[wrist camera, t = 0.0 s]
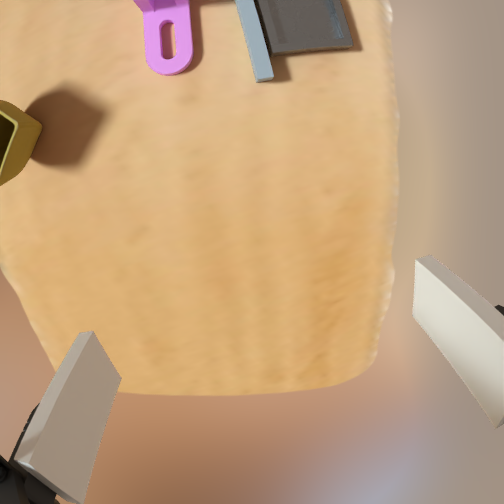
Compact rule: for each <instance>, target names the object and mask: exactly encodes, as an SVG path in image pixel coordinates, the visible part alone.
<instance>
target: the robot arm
mask: <svg viewBox="0 0 504 504" xmlns="http://www.w3.org/2000/svg"><path fill="white" fill-rule="evenodd" d="M415 262H416V263H415V287H414V303H413V317H414V318H415V320H416V321H417V322H418V323H419V324H420V326H421V327H422V328H423V329H424V331H425V332H426V333H427V334H428V336H429V337H430V338H431V340H432V341H433V342H434V343H435V344H436V346H437V347H438V348H439V350H440V351H441V352H442V354H443V355H444V356H445V358H446V359H447V360H448V362H449V363H450V364H451V366H452V367H453V368H454V370H455V371H456V372H457V374H458V375H459V376H460V378H461V379H462V380H463V382H464V383H465V385H466V386H467V388H468V389H469V390H470V392H471V393H472V395H473V396H474V397H475V399H476V400H477V402H478V403H479V405H480V406H481V407H482V409H483V411H484V412H485V414H486V415H487V416H488V418H489V420H490V421H491V423H492V424H493V426H494V427H495V429H496V428H498V427H499V426H501V425H502V424H504V307H502V306H500V305H497V306H495V307H493V306H492V305H491V304H490V303H489V302H488V301H487V300H485V299H484V298H483V297H482V296H481V295H480V294H479V293H477V292H476V291H475V290H474V289H473V288H471V287H470V286H469V285H468V284H467V283H466V282H464V281H463V280H462V279H461V278H459V277H458V276H457V275H456V274H455V273H453V272H452V271H451V270H450V269H448V268H447V267H446V266H445V265H443V264H442V263H441V262H440V261H438V260H437V259H436V258H434V257H433V256H432V255H428V256H425V257H421V258H418V259H416V260H415ZM120 381H121V376H120V375H119V373H118V372H117V370H116V369H115V367H114V365H113V364H112V362H111V361H110V359H109V357H108V356H107V354H106V352H105V351H104V349H103V347H102V345H101V344H100V342H99V340H98V339H97V337H96V335H95V333H94V331H89V332H82V333H79V335H78V336H77V338H76V339H75V341H74V343H73V344H72V346H71V348H70V349H69V351H68V353H67V355H66V356H65V358H64V360H63V361H62V363H61V365H60V367H59V369H58V370H57V372H56V374H55V376H54V377H53V379H52V381H51V383H50V385H49V387H48V389H47V391H46V393H45V394H44V396H43V398H42V400H41V402H40V403H39V404H38V405H37V406H36V407H35V409H34V410H33V411H32V412H31V414H30V416H29V419H28V421H27V423H26V425H25V427H24V429H23V430H24V431H23V432H22V433H21V435H20V437H19V439H18V441H17V444H16V446H15V448H14V450H13V453H12V455H11V457H10V460H9V461H8V462H7V461H6V460H5V459H4V458H3V457H2V456H1V455H0V504H60V503H59V502H58V501H57V500H56V499H55V497H56V494H58V495H59V496H60V497H62V498H63V499H65V500H66V501H68V502H72V503H76V504H84V500H85V496H86V492H87V488H88V485H89V481H90V477H91V473H92V469H93V466H94V462H95V459H96V455H97V452H98V449H99V445H100V442H101V439H102V435H103V432H104V429H105V426H106V423H107V419H108V416H109V413H110V410H111V407H112V404H113V401H114V398H115V395H116V393H117V390H118V387H119V384H120Z"/></svg>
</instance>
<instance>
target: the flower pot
mask: <svg viewBox="0 0 504 504" xmlns="http://www.w3.org/2000/svg"><path fill="white" fill-rule="evenodd" d="M41 130H42V125H41V123H40V122H38V121H37V120H35V119H34V118H32V117H30V116H29V115H28V114H26V113H25V112H23V111H22V110H20V109H19V108H17V107H16V106H15V105H13V104H11V103H9V102H6V101H2V100H0V186H1V185H3V184H4V183H6V182H8V181H9V180H11V179H12V178H14V177H15V176H17V175H18V174H19V173H20V172H21V171H22V170H23V168H24V167H25V165H26V164H27V162H28V160H29V158H30V157H31V154H32V152H33V149H34V146H35V144H36V142H37V139H38V137H39V135H40V133H41Z"/></svg>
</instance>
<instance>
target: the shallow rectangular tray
mask: <svg viewBox="0 0 504 504" xmlns="http://www.w3.org/2000/svg"><path fill="white" fill-rule="evenodd" d="M255 2H256V5H257V9H258V12H259V16H260V19H261V23H262V26H263V30H264V33H265V37H266V41H267V45H268V48H269V52H270V56H271V57H272V56H279V55H286V54H294V53H302V52H312V51H323V50H337V49H349V48H350V47H352V46H353V41H352V38H351V34H350V31H349V27H348V24H347V21H346V18H345V14H344V11H343V8H342V5H341V2H340V0H255Z"/></svg>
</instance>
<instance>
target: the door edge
mask: <svg viewBox="0 0 504 504" xmlns="http://www.w3.org/2000/svg"><path fill="white" fill-rule="evenodd" d="M235 3H236V6H237V10H238V13H239V17H240V21H241V24H242V28H243V32H244V36H245V39H246V43H247V47H248V51H249V55H250V59H251V63H252V67H253V71H254V75H255V79H256V83H257V82H263V81H268V80H272V78H273V77H274V75H273V71H272V67H271V63H270V59H269V55H268V51H267V47H266V44H265V40H264V36H263V32H262V29H261V25H260V22H259V18H258V14H257V11H256V8H255V4H254V1H253V0H235Z"/></svg>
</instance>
